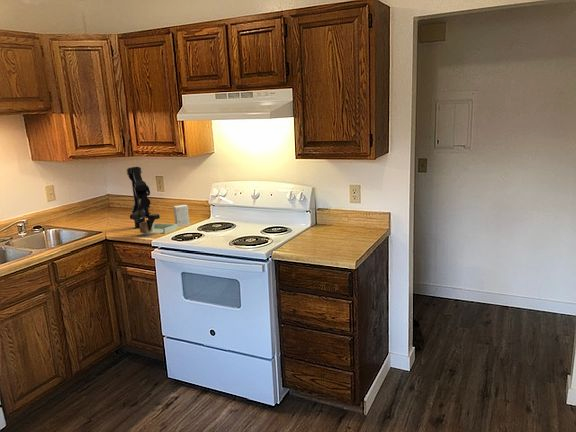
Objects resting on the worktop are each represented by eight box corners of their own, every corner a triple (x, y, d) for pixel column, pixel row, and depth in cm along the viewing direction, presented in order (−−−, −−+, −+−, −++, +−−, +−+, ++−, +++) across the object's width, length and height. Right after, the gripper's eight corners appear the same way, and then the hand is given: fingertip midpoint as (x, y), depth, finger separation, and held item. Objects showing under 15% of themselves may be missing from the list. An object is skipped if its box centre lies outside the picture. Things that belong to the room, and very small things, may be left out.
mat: (135, 236, 283) (135, 236, 283) (145, 233, 291) (145, 232, 291) (148, 237, 279) (148, 237, 279) (158, 234, 287) (158, 233, 287)
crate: (142, 232, 294) (141, 227, 294) (155, 227, 305) (154, 223, 304) (165, 233, 286) (164, 228, 286) (178, 229, 297) (177, 224, 296)
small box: (187, 223, 312) (185, 204, 309) (189, 225, 306) (187, 205, 304) (175, 225, 309) (173, 206, 306) (177, 227, 303) (175, 207, 300)
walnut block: (140, 232, 284) (139, 223, 282) (146, 230, 288) (145, 221, 287) (146, 233, 281) (145, 223, 280) (152, 231, 286) (151, 221, 285)
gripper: (121, 207, 278) (125, 232, 282) (145, 208, 270) (149, 234, 273) (135, 203, 288) (138, 228, 291) (158, 204, 280) (161, 229, 283)
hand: (146, 230), depth 285 cm, fingers closed on walnut block, 5 cm apart
